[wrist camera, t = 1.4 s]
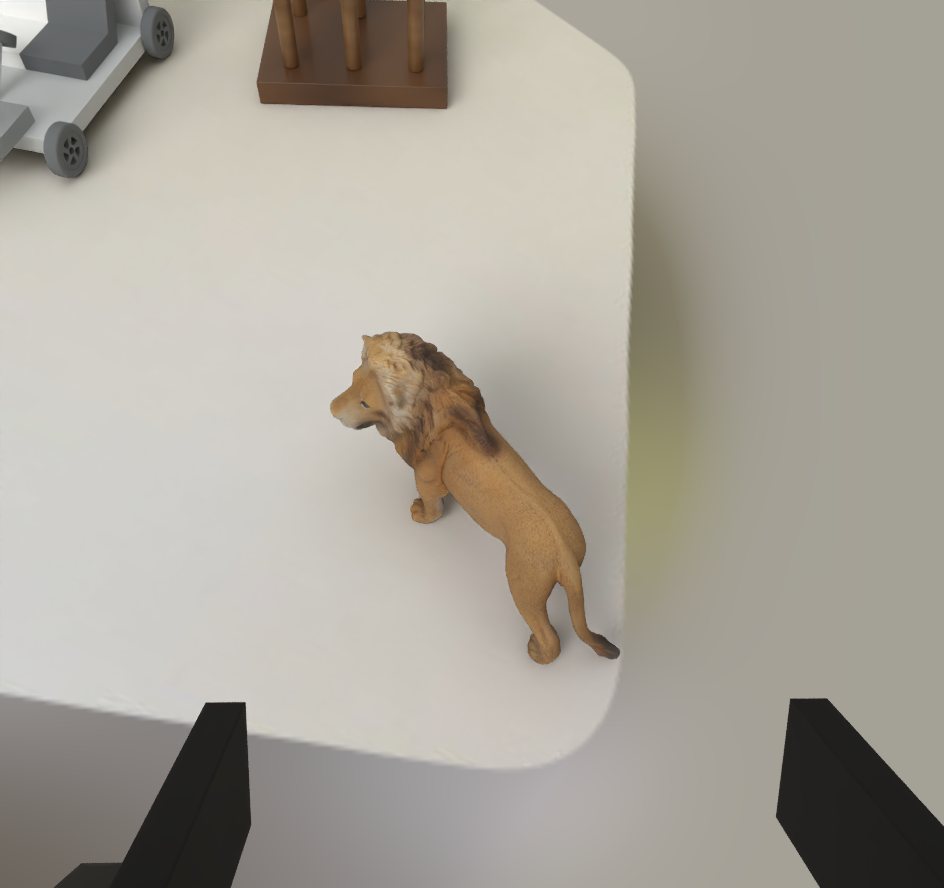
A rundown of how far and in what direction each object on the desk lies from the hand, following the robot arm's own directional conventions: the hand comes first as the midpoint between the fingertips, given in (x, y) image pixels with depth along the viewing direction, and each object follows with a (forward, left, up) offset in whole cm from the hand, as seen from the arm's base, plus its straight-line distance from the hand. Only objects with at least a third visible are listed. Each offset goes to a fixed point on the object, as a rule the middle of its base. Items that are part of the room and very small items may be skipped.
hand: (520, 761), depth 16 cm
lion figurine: (0, -12, -15) cm, 19 cm away
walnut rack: (+7, -48, -15) cm, 51 cm away
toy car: (+27, -42, -15) cm, 52 cm away
